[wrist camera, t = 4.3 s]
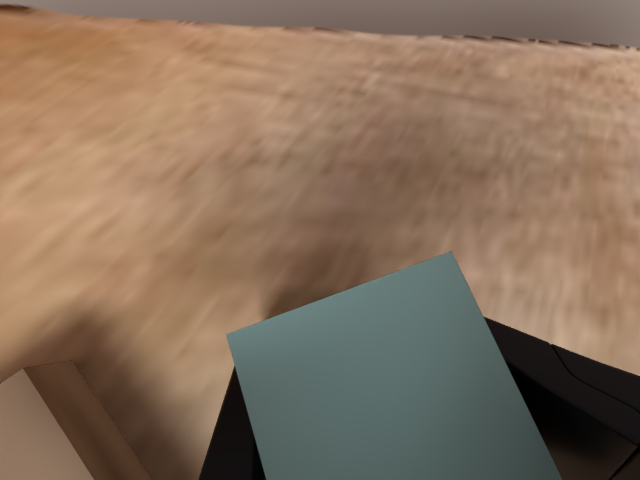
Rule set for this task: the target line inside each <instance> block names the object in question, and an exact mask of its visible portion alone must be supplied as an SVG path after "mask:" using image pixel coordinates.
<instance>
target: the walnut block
mask: <svg viewBox="0 0 640 480" xmlns="http://www.w3.org/2000/svg"><path fill="white" fill-rule="evenodd" d="M0 480H152V478H151V477H150V475H149V474H148V472H147V471H146V469H145V468H144V466H143V465H142V463H141V462H140V460H139V459H138V457H137V456H136V454H135V453H134V452H133V450H132V449H131V447H130V446H129V444H128V443H127V441H126V440H125V438H124V437H123V435H122V434H121V432H120V431H119V429H118V428H117V426H116V425H115V423H114V422H113V420H112V419H111V417H110V416H109V414H108V413H107V411H106V410H105V409H104V407H103V406H102V404H101V403H100V401H99V400H98V398H97V397H96V395H95V394H94V392H93V391H92V389H91V388H90V386H89V385H88V383H87V382H86V380H85V379H84V377H83V376H82V374H81V373H80V371H79V370H78V368H77V367H76V366H75V364H74V363H73V361H72V360H69V361H63V362H57V363H51V364H45V365H39V366H33V367H27V368H22V369H21V370H20V371H18V372H17V373H15V374H14V375H12V376H11V377H10V378H8V379H7V380H5V381H4V382H2V383H1V384H0Z"/></svg>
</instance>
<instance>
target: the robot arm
mask: <svg viewBox="0 0 640 480" xmlns="http://www.w3.org/2000/svg"><path fill="white" fill-rule="evenodd" d="M484 319H485V321H486V323H487V325H488V327H489V329H490V331H491V334H492V336H493V338H494V340H495V342H496V344H497V346H498V348H499V350H500V352H501V354H502V356H503V358H504V360H505V362H506V364H507V367H508V369H509V371H510V373H511V375H512V377H513V379H514V381H515V383H516V385H517V387H518V389H519V391H520V393H521V395H522V397H523V400H524V402H525V404H526V406H527V408H528V410H529V412H530V414H531V416H532V418H533V420H534V422H535V424H536V426H537V428H538V430H539V433H540V435H541V437H542V439H543V441H544V443H545V445H546V447H547V449H548V451H549V453H550V455H551V457H552V459H553V461H554V463H555V466H556V468H557V470H558V472H559V474H560V476H561V478H562V480H640V376H638V375H635V374H632V373H629V372H626V371H623V370H620V369H617V368H615V367H612V366H609V365H606V364H603V363H600V362H598V361H595V360H592V359H590V358H587V357H584V356H582V355H579V354H577V353H574V352H571V351H569V350H566V349H564V348H561V347H559V346H556V345H554V344H551V345H550V344H549V343H548V342H546V341H543V340H541V339H538V338H536V337H533V336H531V335H528V334H526V333H523V332H521V331H518V330H516V329H513V328H511V327H508V326H506V325H503V324H501V323H498V322H496V321H493V320H491V319H488V318H486V317H484ZM198 480H266V477H265V473H264V469H263V466H262V462H261V458H260V455H259V451H258V448H257V444H256V440H255V437H254V433H253V429H252V426H251V422H250V419H249V415H248V411H247V408H246V404H245V400H244V397H243V393H242V390H241V386H240V382H239V379H238V375H237V372H236V368H235V366H234V369H233V372H232V375H231V379H230V382H229V385H228V388H227V391H226V394H225V397H224V401H223V404H222V407H221V410H220V413H219V416H218V419H217V423H216V426H215V429H214V432H213V435H212V438H211V441H210V445H209V448H208V451H207V454H206V457H205V460H204V464H203V467H202V470H201V473H200V476H199V479H198Z"/></svg>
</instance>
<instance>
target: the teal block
mask: <svg viewBox="0 0 640 480" xmlns="http://www.w3.org/2000/svg"><path fill="white" fill-rule="evenodd" d="M226 335H227V339H228V343H229V346H230V350H231V353H232V357H233V361H234V364H235V368H236V372H237V375H238V379H239V382H240V386H241V390H242V393H243V397H244V400H245V404H246V408H247V411H248V415H249V419H250V422H251V426H252V429H253V433H254V437H255V440H256V444H257V448H258V451H259V455H260V458H261V462H262V466H263V469H264V473H265V477H266V480H562V478H561V476H560V474H559V472H558V470H557V468H556V466H555V463H554V461H553V459H552V457H551V455H550V453H549V451H548V449H547V447H546V445H545V443H544V441H543V439H542V437H541V435H540V433H539V430H538V428H537V426H536V424H535V422H534V420H533V418H532V416H531V414H530V412H529V410H528V408H527V406H526V404H525V402H524V400H523V397H522V395H521V393H520V391H519V389H518V387H517V385H516V383H515V381H514V379H513V377H512V375H511V373H510V371H509V369H508V367H507V364H506V362H505V360H504V358H503V356H502V354H501V352H500V350H499V348H498V346H497V344H496V342H495V340H494V338H493V336H492V334H491V331H490V329H489V327H488V325H487V323H486V321H485V319H484V317H483V315H482V313H481V311H480V309H479V307H478V305H477V303H476V301H475V298H474V296H473V294H472V292H471V290H470V288H469V286H468V284H467V282H466V280H465V278H464V276H463V274H462V272H461V270H460V268H459V265H458V263H457V261H456V259H455V257H454V255H453V253H452V251H450V252H448V253H445V254H442V255H440V256H437V257H434V258H431V259H429V260H426V261H423V262H421V263H418V264H415V265H413V266H410V267H407V268H404V269H402V270H399V271H396V272H394V273H391V274H388V275H386V276H383V277H380V278H377V279H375V280H372V281H369V282H367V283H364V284H361V285H359V286H356V287H353V288H350V289H348V290H345V291H342V292H340V293H337V294H334V295H331V296H329V297H326V298H323V299H321V300H318V301H315V302H313V303H310V304H307V305H304V306H302V307H299V308H296V309H294V310H291V311H288V312H286V313H283V314H280V315H277V316H275V317H272V318H269V319H267V320H264V321H261V322H259V323H256V324H253V325H250V326H248V327H245V328H242V329H240V330H237V331H234V332H231V333H229V334H226Z"/></svg>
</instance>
